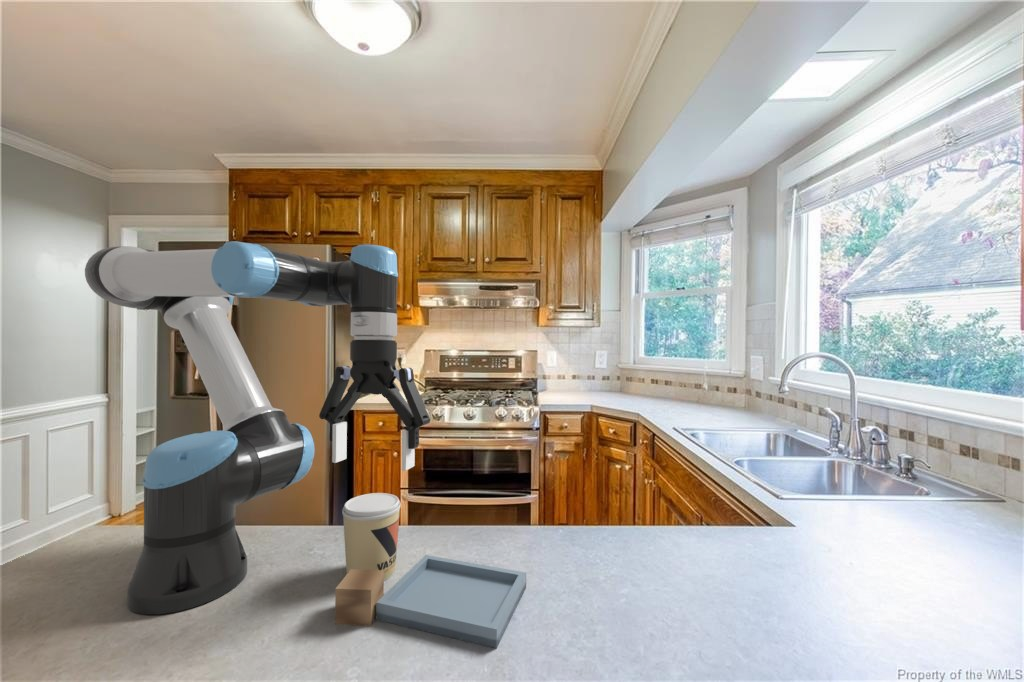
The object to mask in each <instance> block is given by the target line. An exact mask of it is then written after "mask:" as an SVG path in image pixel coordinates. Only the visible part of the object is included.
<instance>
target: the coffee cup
mask: <svg viewBox="0 0 1024 682" xmlns="http://www.w3.org/2000/svg"><path fill="white" fill-rule="evenodd" d="M401 504H402V503H401V501H400V499H399V497H398V496H397V495H395V494H391V493H385V492H373V493H366V494H361V495H357V496H355V497H352V498H350V499H349V500H347V501H346V502H345V503H344V505H343V507H342V510H341V512H342V517H343V519H342V520H343V534H344V537H343V538H344V552H345V553H344V554H345V568H346V569H345V570H346V575H347V574H348V572H349V571H350V570H351V569H358V570H384V582H386V581H387V580H389V579H391V578H392V576H393V575H394V574H395V572H396V564H397V550H398V540H399V539H398V538H399V524H400V523H399V522H400V509H401V506H402V505H401Z"/></svg>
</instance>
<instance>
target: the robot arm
mask: <svg viewBox="0 0 1024 682" xmlns="http://www.w3.org/2000/svg"><path fill="white" fill-rule="evenodd" d="M84 278H85V281H86V283H87V284H88V287H89V288H90V289H91V290H92V292H93V293H94V294H95V295H97V296H98V297H100V298H101V299H103V300H105V301H107V302H109V303H112V304H114V305H116V306H117V305H118V306H121V307H126V308H129V309H130V308H131V309H140V310H151V311H152V310H153V311H154V310H155V311H159V312H160V315H161V316H162V319H163V320H164V322H165V324H166V325H167V326H168V327H170V328H172V329H176V330H179V334H180V335H181V337H182V340H183V341H184V344H185V346H186V348H187V350H188V352H189V354H190V356H191V359H192V361H193V364H194V365H195V368H196V369H197V372H198V374H199V376H200V379H201V380H202V383H203V385H204V387H205V389H206V392H207V394H208V396H209V398H210V400H211V402H212V405H213V407H214V409H215V410H216V413H217V416H218V418H219V419H220V422H221V423H222V426H223V429H222V430H209V431H204V432H201V433H199V432H197V433H191V434H187V435H183V436H180V437H179V436H178V437H176V438H173V439H170V440H168V441H165V442H163V443H161V444H159V445H156V447H154V448H153V449H152V450H151V451H150V452H148V454H147V456H146V459H145V464H144V470H143V471H144V472H143V477H142V485H143V547H142V551H141V552H140V556H139V558H138V561H137V563H136V566H135V569H134V571H133V575H132V577H131V579H130V582H129V584H128V587H127V595H126V596H127V597H126V599H127V600H126V604H127V608H128V609H129V611H132V612H134V613H137V614H142V615H164V614H170V613H172V614H173V613H175V612H180V611H185V610H189V609H192V608H196V607H198V606H201V605H205V604H206V603H209V602H211V601H214V600H216V599H219V598H220V597H221V596H224V595H225V594H227V593H228V592H230V591H232V590H233V589H234V588H236V587H237V586H239V585H240V584H241V582H242V581H244V579H245V578H246V576H247V574H248V556H247V553H246V552H245V549H244V547H243V544H242V541H241V538H240V536H239V533H238V531H237V529H236V512H237V511H236V510H237V509H236V506H238V505H240V504H243V503H246V502H249V501H252V500H254V499H257V498H260V497H262V496H265V495H267V494H270V493H272V492H276V491H279V490H284V489H286V488H288V487H289V486H291V485H293V484H295V483H298V482H299V481H301V480H302V479H304V477H306V475H307V474H308V473H309V471H310V470H311V468H312V466H313V460H314V458H315V442H314V439H313V436H312V433H311V432H310V430H309V429H308V428H307V427H306V426H304V425H301V424H300V423H297V422H296V423H295V422H293V423H292V422H291V423H290V420H289V418H288V417H287V415H286V413H285V411H284V410H283V409H279V408H276V407H273V406H272V404H271V402H270V400H269V398H268V396H267V394H266V392H265V390H264V388H263V386H262V384H261V383H260V380H259V378H258V376H257V373H256V372H255V370H254V368H253V365H252V363H251V362H250V360H249V357H248V355H247V354H246V351H245V349H244V347H243V346H242V345H243V344H241V341H240V340H239V338H238V336H237V333H236V332H235V329H234V327H233V325H232V323H231V321H230V319H229V317H228V314H229V313H230V311H231V307H232V304H233V302H234V298H245V299H247V298H248V299H249V298H250V299H251V298H252V299H253V298H254V299H255V298H256V299H269V300H271V299H272V300H281V301H287V302H294V303H295V302H297V303H300V304H302V305H304V306H313V307H326V306H339V305H341V306H342V305H350V336H351V337H354V338H353V339H352V340H351V341H349V342H350V343H349V345H350V346H349V349H350V350H349V359H350V361H351V363H352V366H351V367H350V366H349V365H345V366H341V365H340V366H336V367H335V369H334V379H333V381H332V384H331V386H330V389H329V391H328V393H327V395H326V398H325V399H324V402H323V405H322V407H321V410H320V412H319V414H318V416H319V419H321V420H325V421H327V422H328V424H329V441H330V442H332V443H331V445H332V450H331V451H332V453H331V454H332V456H331V457H332V458H331V461H332V462H331V463H335V464H336V463H339V462H342V461H344V460H347V458H348V457H347V455H348V454H347V453H348V452H347V448H348V447H347V445H348V444H347V443H348V441H347V440H348V436H347V433H348V422H347V421H345V420H346V419H345V417H346V416H347V415H348V413H349V412H350V411H351V410H352V408H353V407H354V405H355V404H356V403H357V401H358V400H359V399H360V397H362V395H368V394H372V395H375V396H376V395H377V396H379V395H381V396H382V397H383V398H385V399H386V400H387V401H388V403H389V404H390V406H391V407H392V409H393V411H395V413H396V414H397V416H398V417H399V419H401V421H402V423H403V425H404V426H405V427H406V428H402V430H401V471H408V470H410V469H412V468H414V467H415V466H416V465H415V463H416V461H415V460H416V459H415V457H416V456H415V455H416V453H415V452H416V451H415V449H417V448H419V445H420V428H421V427H422V426H425V425H428V424H430V423H431V417H430V415H429V413H428V411H427V409H426V406H425V404H424V401H423V399H422V397H421V394H420V391H419V389H418V386H417V385H416V383H415V378H414V369H413V368H412V367H404V368H399V369H397V366H396V362H397V359H398V356H397V355H398V343H397V342H396V340H395V339H394V338H395V337H396V338H397V336H398V309H397V307H398V306H397V305H398V304H397V297H398V279H399V273H398V257H397V254H396V251H394V250H393V249H392V248H389V247H387V246H385V245H384V246H383V245H378V244H377V245H375V244H358V245H357V246H353V247H352V248H351V252H350V256H349V260H344V261H324V260H319V259H316V258H311V257H307V256H302V255H299V254H294V253H289V252H285V251H281V250H278V249H273V248H269V247H266V246H262V245H260V244H258V243H253V242H252V243H250V242H243V241H242V242H241V241H237V240H236V241H234V240H233V241H228V242H225V243H224V244H223V245H222V246H220V247H218V248H215V249H214V248H209V249H188V250H187V249H185V250H178V249H177V250H157V251H156V250H152V249H145V248H142V247H137V246H129V245H128V246H126V245H125V246H124V245H123V246H111V247H110V246H109V247H106V248H102V249H100V250H99V251H97V252H95V253H94V254H93V255H91V256H90V257H89V258H88V260H87V262H86V263H85V267H84ZM350 379H352V381H353V382H352V383H351V384H350V386H349V387H348V385H349V382H350ZM395 380H397V381H399V384H400V388H401V390H402V392H403V395H404V396H403V395H402V393H400V388H399V387H398V386H397V383H396V382H395ZM347 387H348V388H347ZM346 389H347V392H346V393H345V391H346ZM404 397H405V398H404Z"/></svg>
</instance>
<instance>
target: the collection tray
mask: <svg viewBox="0 0 1024 682" xmlns="http://www.w3.org/2000/svg"><path fill="white" fill-rule="evenodd" d="M526 589H527V572H524V571H519V570H514V569H508V568H503V567H502V568H501V567H498V566H497V567H496V566H490V565H485V564H480V563H479V564H478V563H474V562H468V561H462V560H458V559H457V560H456V559H450V558H445V557H440V556H433V555H429V554H425V555H424V556H423V557H422V558H421V559H420V560H418V562H417V563H415V564H414V566H412V568H411V569H410V570H409V571H407V572H406V573H405V574H404V575H403V576H402V577H401V578H399V580H398V581H396V583H395V584H393V585H392V586H391V587H390V588H389V590H388V591H386V592H384V595H383V596H382V597H381V598H380V599H379V600H378V601H377V602H376V617H375V620H376V621H381V622H385V623H389V624H394V625H397V626H401V627H406V628H409V629H415V630H419V631H423V632H428V633H431V634H435V635H440V636H444V637H448V638H453V639H456V640H460V641H465V642H468V643H473V644H476V645H477V644H478V645H482V646H486V647H489V648H495V649H498V647H499V644H500V643H501V640H502V638H503V636H504V634H505V632H506V630H507V628H508V626H509V624H510V621H511V620H512V617H513V616H514V613H515V612H516V610H517V607H518V605H519V604H520V602H521V600H522V597H523V595H524V593H525V591H526Z"/></svg>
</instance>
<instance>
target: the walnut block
mask: <svg viewBox="0 0 1024 682" xmlns="http://www.w3.org/2000/svg"><path fill="white" fill-rule="evenodd" d="M384 582H385V581H384V570H358V569H351V570H350V571H349V572H348V574H347V573H346V575H345V576H344V577H343V579H342V580H341V581H340V583H338V585H337V586H336V587H335V598H334V599H335V603H334V604H335V605H334V606H335V607H334V611H335V612H334V617H335V619H334V625H339V626H340V625H341V626H343V625H345V626H366V627H367V626H368V627H370V626H372V624H373V623H374V621H375V620H376V602H377V601H378V600H379V599H380V598H381V597H382V596H383V595H384V594H385V592H384V590H385V589H384V587H385V585H384V584H385V583H384Z"/></svg>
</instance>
